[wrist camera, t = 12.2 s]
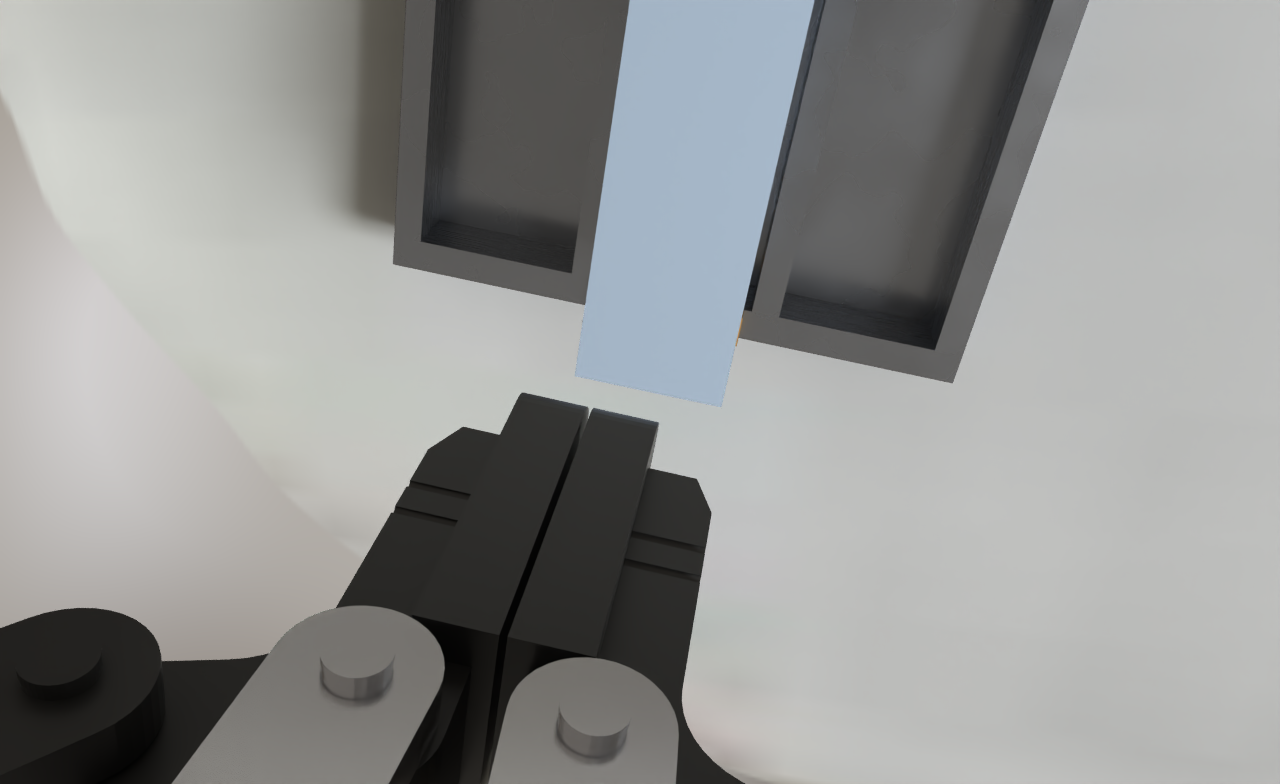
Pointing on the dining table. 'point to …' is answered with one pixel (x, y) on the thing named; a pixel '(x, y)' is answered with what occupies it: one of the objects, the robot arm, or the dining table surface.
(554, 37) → the rack
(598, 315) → the panel
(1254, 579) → the dining table surface
